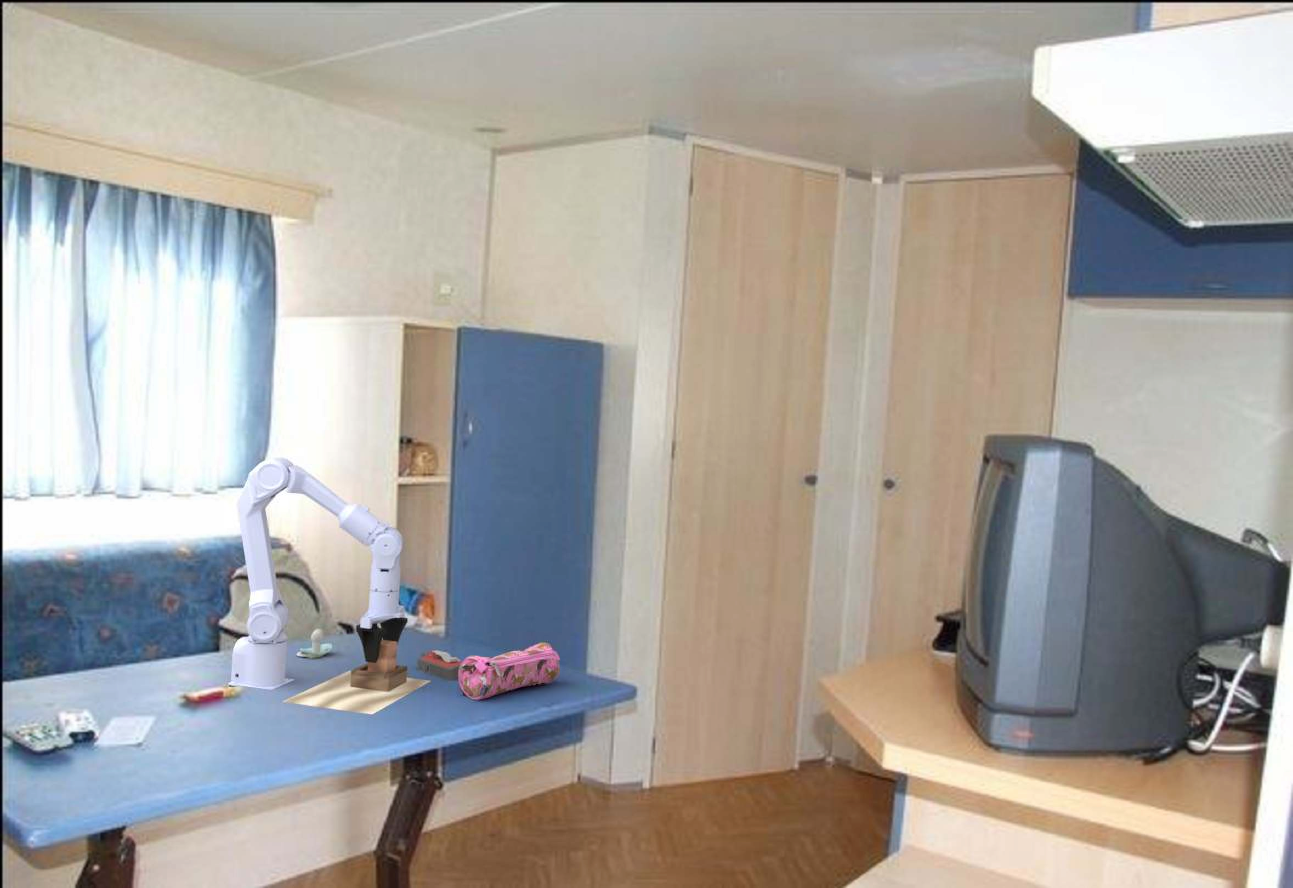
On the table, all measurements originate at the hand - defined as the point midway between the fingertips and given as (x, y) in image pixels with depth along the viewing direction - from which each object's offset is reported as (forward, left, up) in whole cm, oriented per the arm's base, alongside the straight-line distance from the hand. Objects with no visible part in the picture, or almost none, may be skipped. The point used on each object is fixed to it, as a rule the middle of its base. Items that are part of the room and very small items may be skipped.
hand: (380, 657), depth 202 cm
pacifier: (-24, +16, -6) cm, 30 cm away
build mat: (-1, -6, -6) cm, 8 cm away
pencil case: (+24, +9, -6) cm, 26 cm away
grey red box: (+4, +19, -7) cm, 20 cm away
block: (0, 0, -3) cm, 3 cm away
